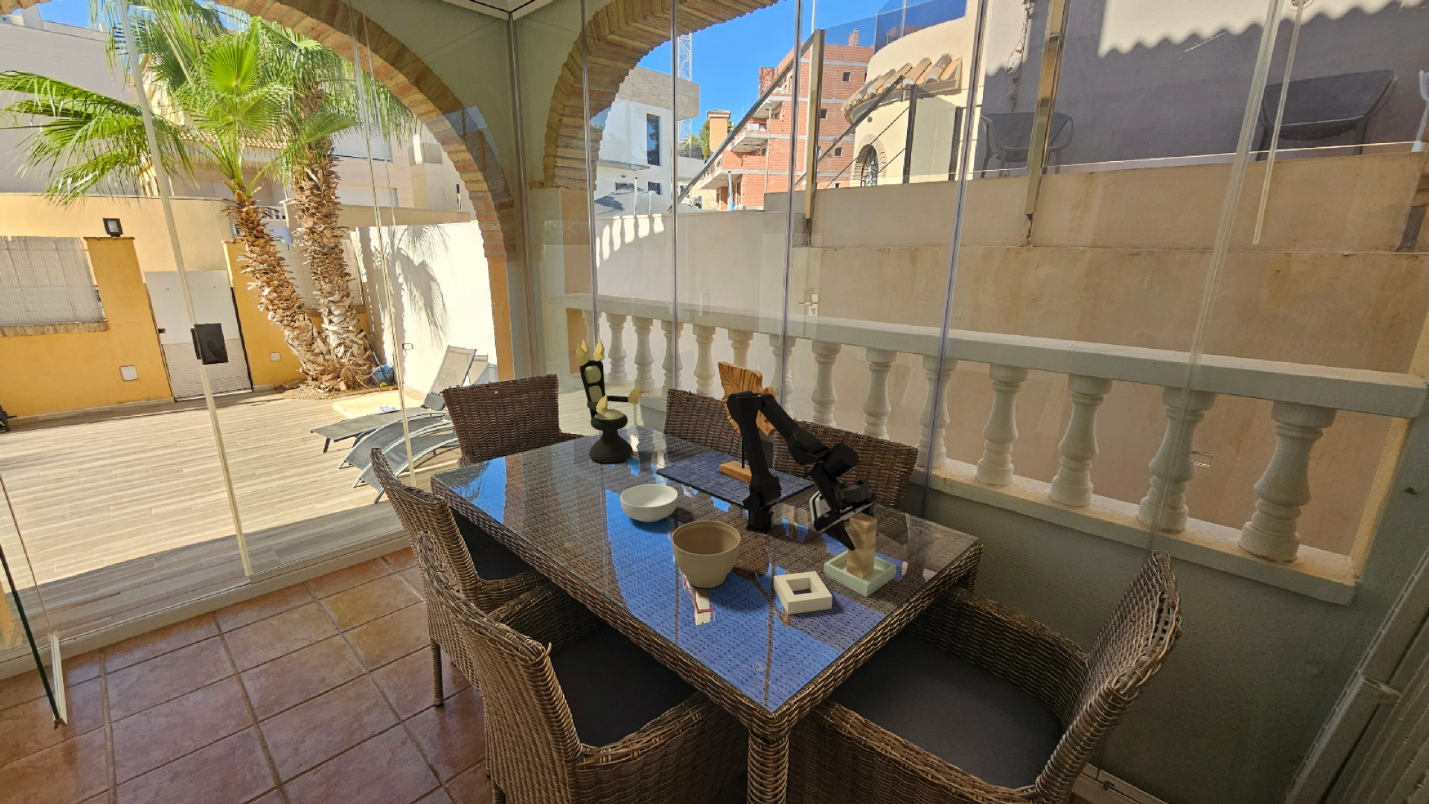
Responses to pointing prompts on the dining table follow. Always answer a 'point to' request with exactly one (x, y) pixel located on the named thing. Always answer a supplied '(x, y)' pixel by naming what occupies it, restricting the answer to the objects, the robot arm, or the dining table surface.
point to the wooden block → (862, 545)
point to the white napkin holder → (822, 508)
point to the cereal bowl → (649, 502)
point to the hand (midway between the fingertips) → (865, 543)
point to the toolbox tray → (866, 586)
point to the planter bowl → (705, 551)
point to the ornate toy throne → (603, 407)
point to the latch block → (802, 602)
